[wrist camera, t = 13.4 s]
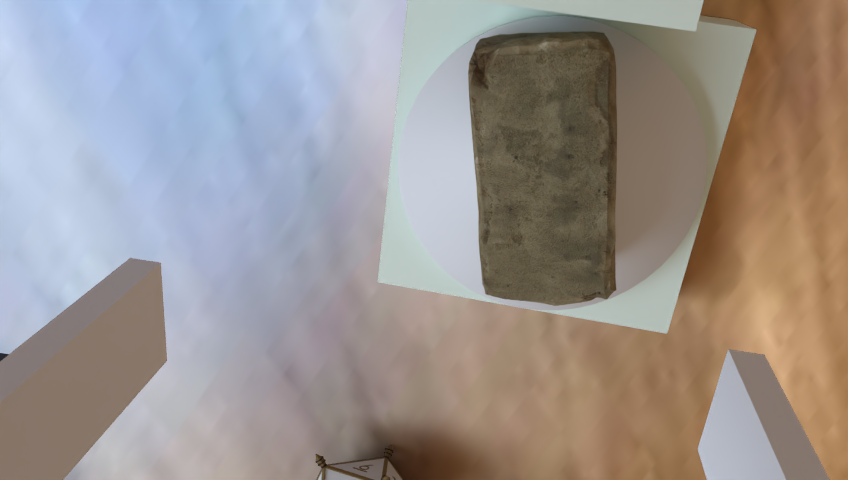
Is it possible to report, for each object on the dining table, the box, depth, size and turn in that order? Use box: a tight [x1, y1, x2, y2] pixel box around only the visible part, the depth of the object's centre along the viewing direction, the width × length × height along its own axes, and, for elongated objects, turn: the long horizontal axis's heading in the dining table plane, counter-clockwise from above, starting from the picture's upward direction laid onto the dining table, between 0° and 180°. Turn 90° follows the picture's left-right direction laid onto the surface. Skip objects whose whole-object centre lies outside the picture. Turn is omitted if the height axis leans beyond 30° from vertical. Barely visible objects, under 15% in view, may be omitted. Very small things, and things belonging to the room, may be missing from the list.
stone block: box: [468, 31, 617, 306], centre depth 31 cm, size 6×12×5 cm, turn 7°
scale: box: [378, 0, 757, 333], centre depth 33 cm, size 18×15×9 cm
